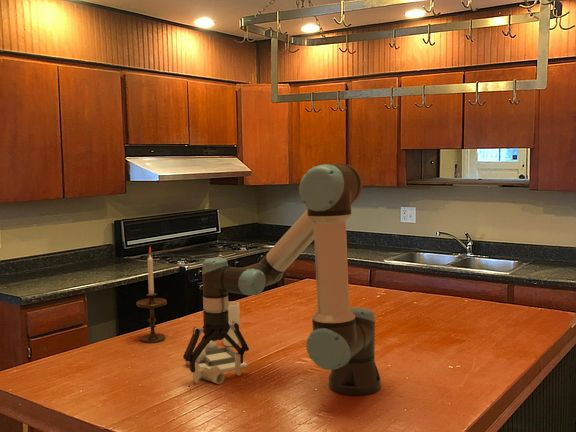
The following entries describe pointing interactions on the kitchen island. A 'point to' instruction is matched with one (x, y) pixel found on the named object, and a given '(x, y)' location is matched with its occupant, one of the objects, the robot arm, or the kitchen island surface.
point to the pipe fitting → (211, 374)
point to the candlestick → (151, 306)
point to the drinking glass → (232, 320)
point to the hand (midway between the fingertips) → (217, 378)
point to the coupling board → (217, 357)
